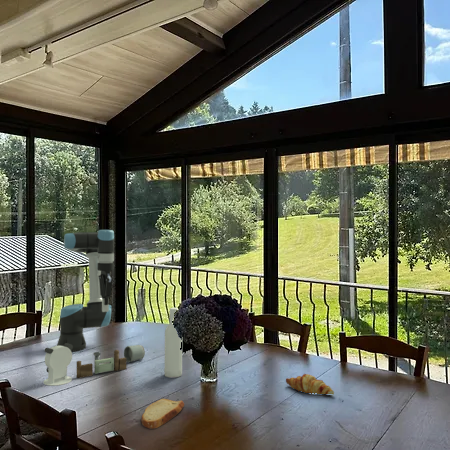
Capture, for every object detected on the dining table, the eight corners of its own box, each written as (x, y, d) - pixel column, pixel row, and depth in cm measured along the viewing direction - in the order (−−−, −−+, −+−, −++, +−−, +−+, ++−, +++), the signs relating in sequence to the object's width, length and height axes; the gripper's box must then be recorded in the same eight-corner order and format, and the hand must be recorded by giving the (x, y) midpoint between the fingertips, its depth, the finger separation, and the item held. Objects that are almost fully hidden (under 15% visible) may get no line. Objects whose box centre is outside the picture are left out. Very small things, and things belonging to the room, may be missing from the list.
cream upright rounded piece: (62, 374, 199) (63, 341, 199) (78, 379, 193) (78, 345, 193) (38, 382, 190) (38, 346, 190) (53, 387, 183) (54, 351, 183)
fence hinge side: (112, 370, 206) (113, 349, 206) (124, 367, 209) (124, 347, 209) (114, 371, 204) (114, 350, 204) (126, 369, 207) (126, 348, 207)
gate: (112, 369, 205) (112, 357, 205) (113, 370, 204) (113, 358, 204) (94, 372, 200) (94, 360, 200) (95, 373, 199) (95, 361, 199)
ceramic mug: (145, 360, 221) (145, 344, 221) (132, 363, 215) (132, 347, 215) (133, 356, 228) (133, 341, 228) (119, 359, 222) (119, 344, 222)
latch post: (93, 372, 202) (93, 352, 202) (98, 371, 204) (98, 351, 204) (95, 373, 200) (95, 353, 200) (100, 372, 202) (100, 353, 202)
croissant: (336, 403, 178) (340, 383, 181) (328, 398, 171) (332, 377, 174) (288, 390, 190) (292, 372, 193) (279, 386, 182) (283, 366, 186)
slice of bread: (146, 431, 146) (146, 419, 146) (132, 410, 162) (132, 400, 162) (196, 421, 154) (196, 410, 154) (179, 402, 170) (179, 392, 170)
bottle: (166, 371, 204) (166, 306, 204) (183, 372, 204) (183, 306, 204) (163, 377, 196) (163, 309, 196) (180, 378, 196) (181, 310, 196)
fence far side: (75, 377, 196) (76, 361, 196) (91, 374, 200) (91, 358, 200) (77, 378, 194) (77, 362, 194) (92, 375, 198) (92, 359, 198)
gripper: (93, 261, 215) (93, 309, 215) (102, 263, 204) (102, 314, 205) (108, 260, 219) (108, 308, 220) (118, 263, 209) (117, 313, 209)
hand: (105, 311), depth 212 cm, fingers closed
